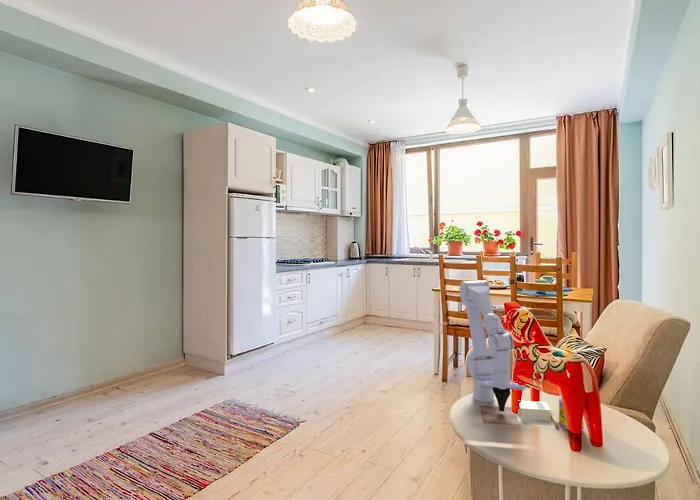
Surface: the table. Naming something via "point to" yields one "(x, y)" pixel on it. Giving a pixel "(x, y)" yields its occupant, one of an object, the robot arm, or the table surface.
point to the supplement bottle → (563, 415)
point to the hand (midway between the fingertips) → (501, 410)
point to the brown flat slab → (513, 418)
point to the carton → (534, 410)
